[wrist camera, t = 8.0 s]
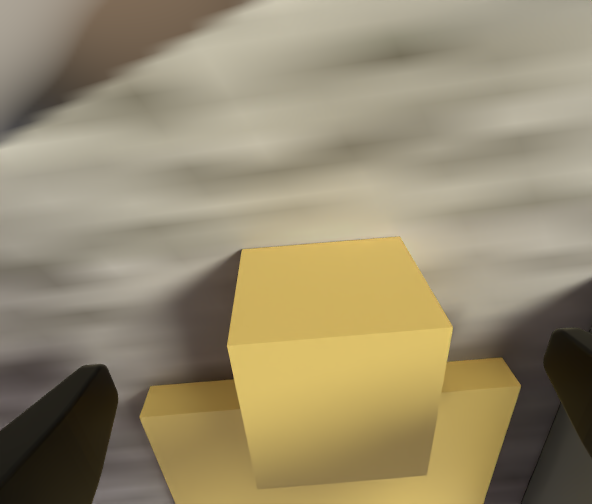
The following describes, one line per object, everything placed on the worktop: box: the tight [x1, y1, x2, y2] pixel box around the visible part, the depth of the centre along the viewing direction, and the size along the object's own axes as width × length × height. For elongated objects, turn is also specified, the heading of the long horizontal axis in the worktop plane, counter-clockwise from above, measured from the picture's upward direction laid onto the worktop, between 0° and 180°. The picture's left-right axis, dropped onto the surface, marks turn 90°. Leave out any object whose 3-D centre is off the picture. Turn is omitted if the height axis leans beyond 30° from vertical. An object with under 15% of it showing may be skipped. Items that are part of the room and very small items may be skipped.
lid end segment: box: [139, 237, 521, 504], centre depth 10 cm, size 12×10×3 cm
